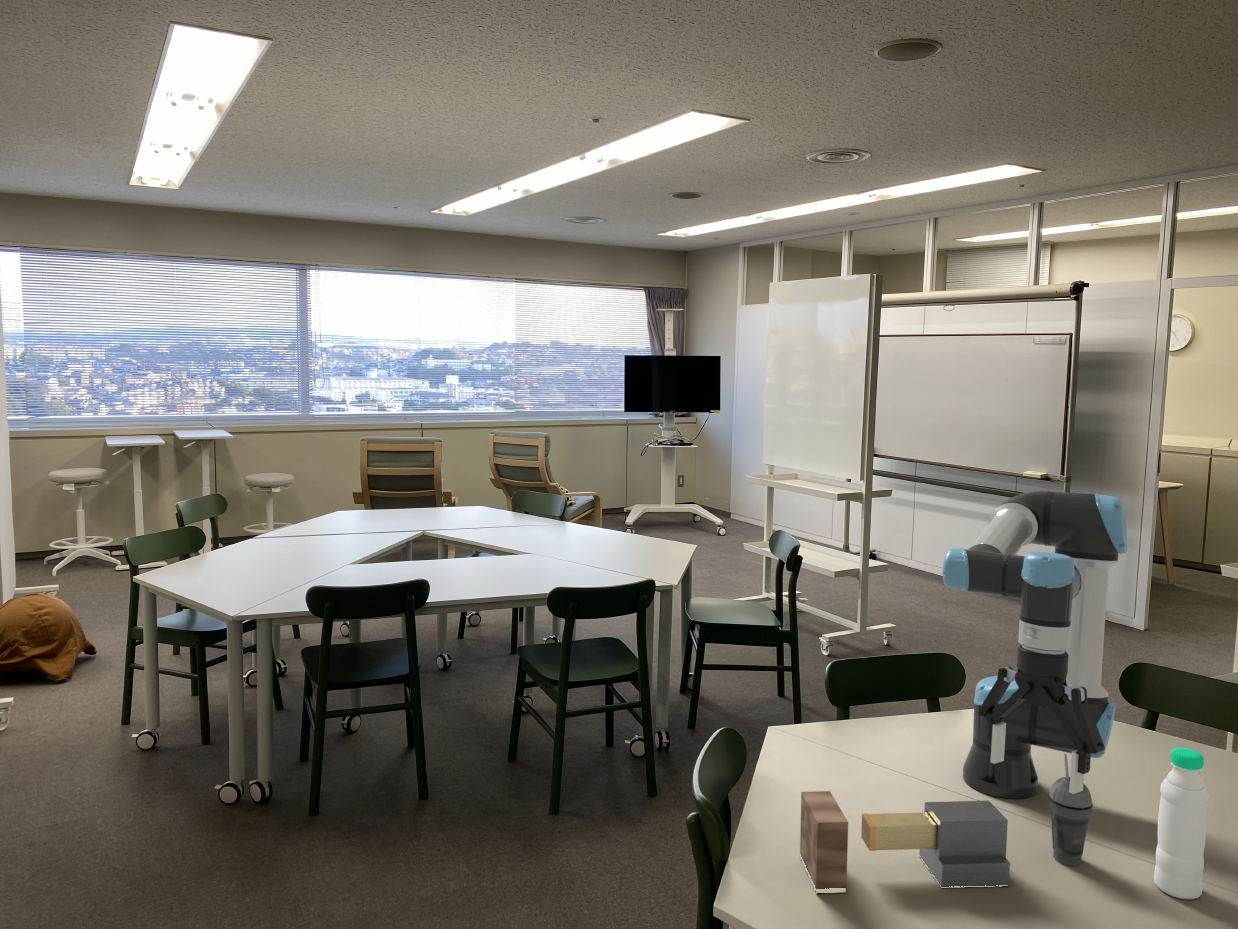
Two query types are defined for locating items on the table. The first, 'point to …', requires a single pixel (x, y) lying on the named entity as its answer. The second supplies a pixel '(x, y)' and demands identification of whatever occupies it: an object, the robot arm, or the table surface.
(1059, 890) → the table surface
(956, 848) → the sleeve
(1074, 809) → the beverage cup
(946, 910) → the table surface
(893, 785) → the table surface
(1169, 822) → the water bottle
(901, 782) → the table surface
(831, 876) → the socket block
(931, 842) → the rail
